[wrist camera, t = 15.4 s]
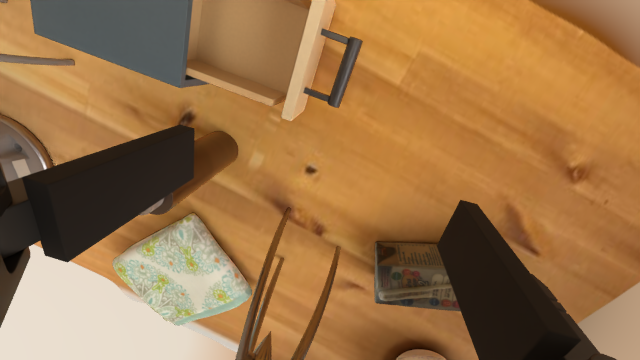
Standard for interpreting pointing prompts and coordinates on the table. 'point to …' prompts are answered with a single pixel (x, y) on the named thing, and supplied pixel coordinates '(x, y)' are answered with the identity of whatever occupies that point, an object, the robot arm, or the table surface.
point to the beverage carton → (412, 276)
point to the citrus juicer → (33, 58)
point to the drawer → (266, 49)
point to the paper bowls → (420, 355)
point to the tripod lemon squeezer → (249, 336)
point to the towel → (183, 273)
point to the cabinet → (123, 33)
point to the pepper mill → (201, 168)
